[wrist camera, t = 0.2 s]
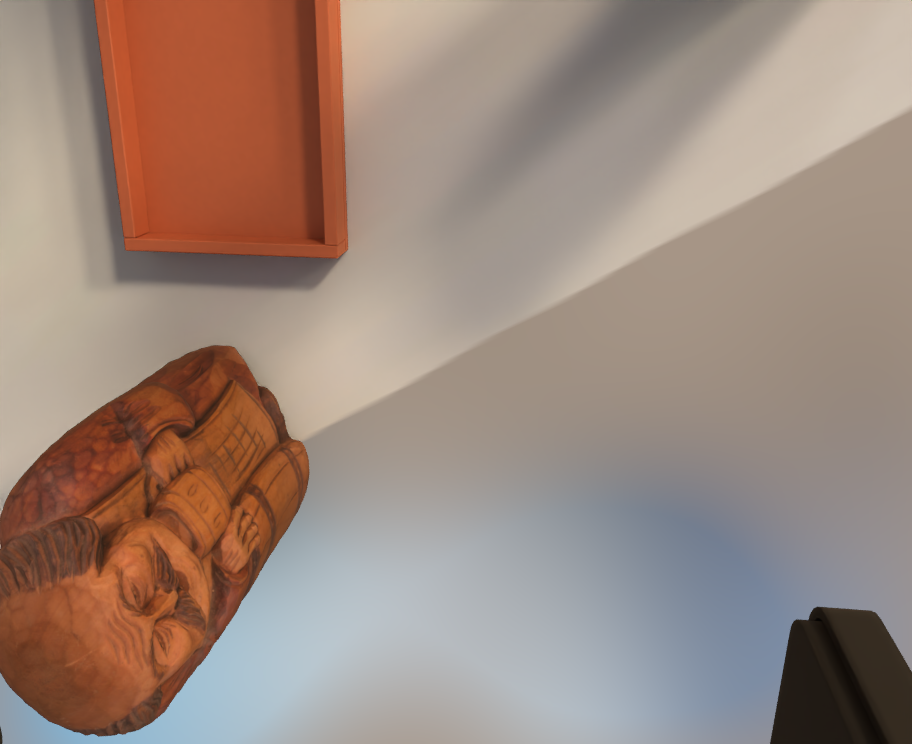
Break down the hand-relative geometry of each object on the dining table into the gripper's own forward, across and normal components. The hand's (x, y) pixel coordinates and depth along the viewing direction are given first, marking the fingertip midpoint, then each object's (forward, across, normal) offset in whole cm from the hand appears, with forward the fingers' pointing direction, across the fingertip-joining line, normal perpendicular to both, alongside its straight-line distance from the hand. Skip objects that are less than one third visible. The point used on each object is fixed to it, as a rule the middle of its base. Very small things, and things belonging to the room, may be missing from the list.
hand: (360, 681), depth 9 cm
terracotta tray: (+31, +13, -9) cm, 35 cm away
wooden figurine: (+31, +14, +12) cm, 36 cm away
